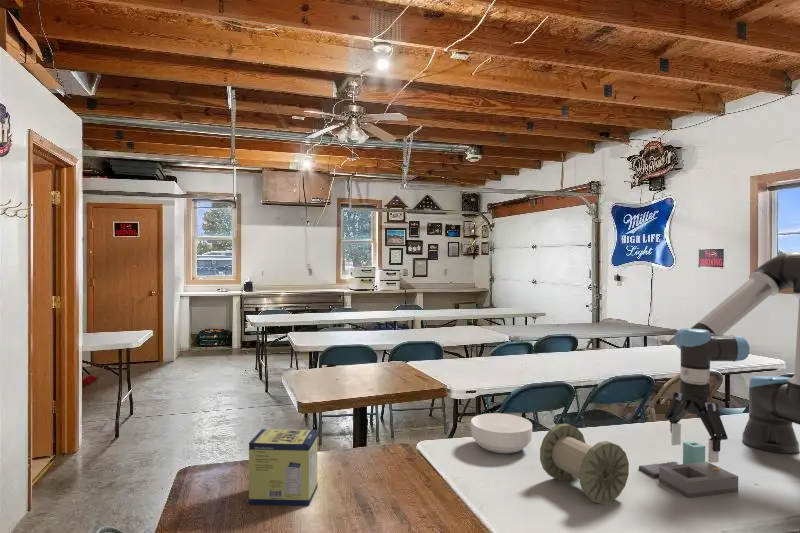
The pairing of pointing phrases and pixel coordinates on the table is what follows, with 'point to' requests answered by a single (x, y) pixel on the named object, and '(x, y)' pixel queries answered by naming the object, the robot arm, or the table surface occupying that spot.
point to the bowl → (501, 432)
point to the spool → (585, 462)
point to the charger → (693, 452)
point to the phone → (654, 469)
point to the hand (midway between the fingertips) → (693, 452)
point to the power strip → (698, 479)
